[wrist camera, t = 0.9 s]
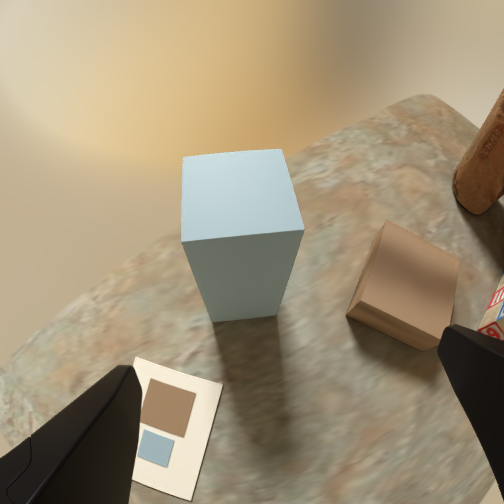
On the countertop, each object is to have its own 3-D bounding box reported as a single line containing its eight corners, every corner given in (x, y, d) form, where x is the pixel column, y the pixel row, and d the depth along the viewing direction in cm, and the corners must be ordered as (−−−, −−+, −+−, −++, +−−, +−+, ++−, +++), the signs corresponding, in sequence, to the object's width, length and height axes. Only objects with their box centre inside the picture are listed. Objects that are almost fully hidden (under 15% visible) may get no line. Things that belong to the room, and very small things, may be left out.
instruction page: (191, 500, 15) (190, 501, 15) (106, 466, 16) (105, 467, 15) (223, 384, 20) (222, 384, 19) (136, 357, 20) (135, 356, 20)
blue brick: (276, 315, 22) (304, 229, 12) (212, 322, 22) (181, 241, 11) (266, 258, 25) (281, 148, 14) (207, 264, 24) (182, 157, 14)
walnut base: (422, 351, 21) (445, 341, 18) (345, 315, 22) (360, 300, 19) (439, 276, 24) (459, 259, 21) (372, 240, 26) (386, 219, 23)
